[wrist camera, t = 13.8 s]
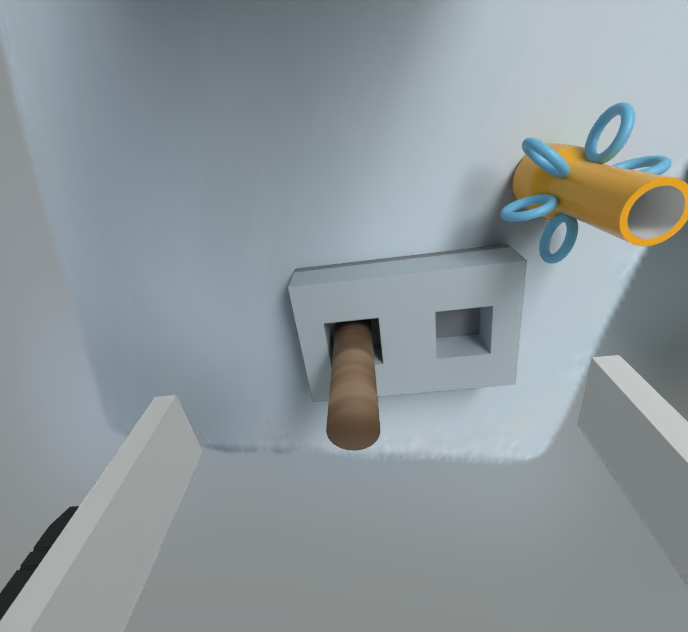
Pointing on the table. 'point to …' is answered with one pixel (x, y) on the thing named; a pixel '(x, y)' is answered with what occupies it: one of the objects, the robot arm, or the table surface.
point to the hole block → (417, 318)
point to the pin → (353, 388)
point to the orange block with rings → (597, 190)
